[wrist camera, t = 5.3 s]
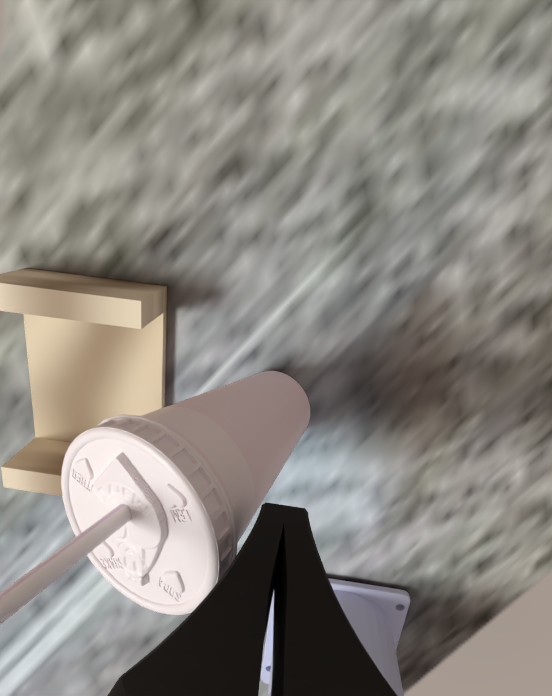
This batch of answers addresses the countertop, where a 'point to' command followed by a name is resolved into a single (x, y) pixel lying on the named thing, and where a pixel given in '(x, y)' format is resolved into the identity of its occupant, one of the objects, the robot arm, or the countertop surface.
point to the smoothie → (172, 492)
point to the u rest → (83, 361)
